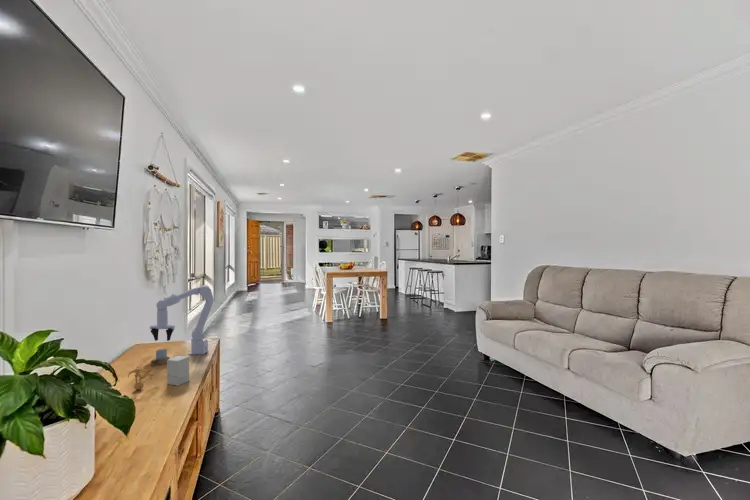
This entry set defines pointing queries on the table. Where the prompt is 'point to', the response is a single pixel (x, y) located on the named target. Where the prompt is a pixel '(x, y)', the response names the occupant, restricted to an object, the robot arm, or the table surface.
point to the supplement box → (177, 370)
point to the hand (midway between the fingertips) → (162, 340)
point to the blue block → (161, 354)
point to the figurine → (139, 384)
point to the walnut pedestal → (159, 361)
